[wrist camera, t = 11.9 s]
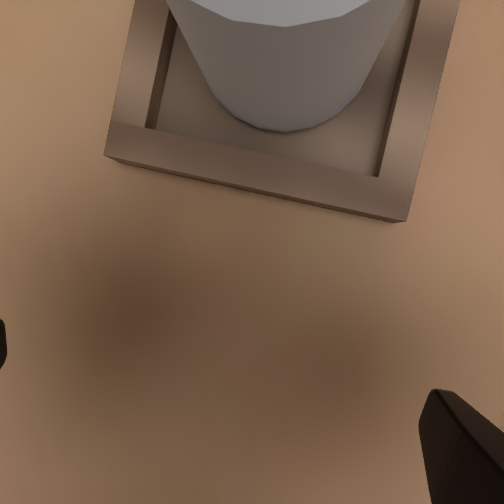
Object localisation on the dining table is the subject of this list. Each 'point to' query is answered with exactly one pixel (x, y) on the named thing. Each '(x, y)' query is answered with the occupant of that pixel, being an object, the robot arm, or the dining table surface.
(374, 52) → the can
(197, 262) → the dining table surface
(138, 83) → the brown wooden tray
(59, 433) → the dining table surface
